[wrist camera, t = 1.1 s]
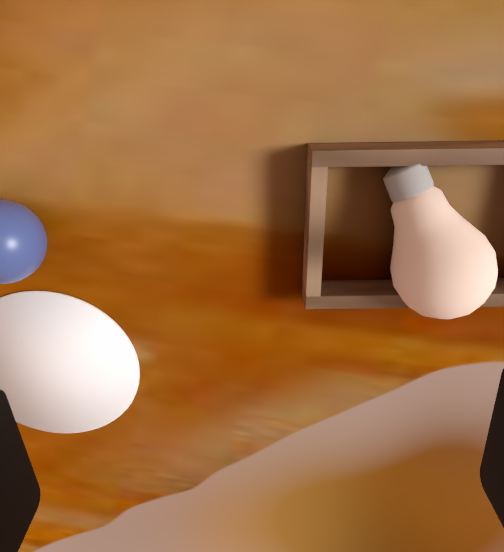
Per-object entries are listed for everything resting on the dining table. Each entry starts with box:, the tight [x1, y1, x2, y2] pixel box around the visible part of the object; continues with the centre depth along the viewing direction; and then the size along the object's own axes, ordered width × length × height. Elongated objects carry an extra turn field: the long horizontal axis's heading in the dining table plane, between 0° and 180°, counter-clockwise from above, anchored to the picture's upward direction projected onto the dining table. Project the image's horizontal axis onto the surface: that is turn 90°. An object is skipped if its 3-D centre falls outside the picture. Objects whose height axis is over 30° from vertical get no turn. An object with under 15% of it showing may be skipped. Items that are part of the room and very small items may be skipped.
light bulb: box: [383, 164, 498, 319], centre depth 31 cm, size 7×7×11 cm
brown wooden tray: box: [302, 141, 504, 309], centre depth 32 cm, size 11×16×2 cm
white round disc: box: [0, 290, 140, 433], centre depth 38 cm, size 14×14×1 cm
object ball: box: [0, 199, 47, 284], centre depth 31 cm, size 6×6×6 cm
